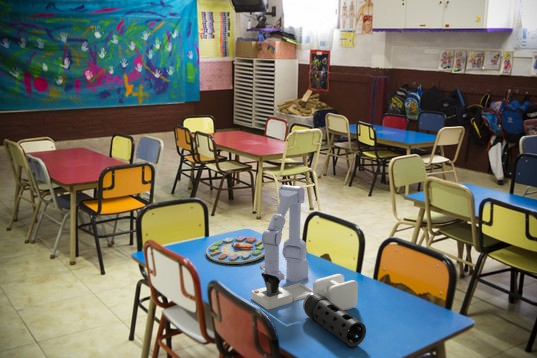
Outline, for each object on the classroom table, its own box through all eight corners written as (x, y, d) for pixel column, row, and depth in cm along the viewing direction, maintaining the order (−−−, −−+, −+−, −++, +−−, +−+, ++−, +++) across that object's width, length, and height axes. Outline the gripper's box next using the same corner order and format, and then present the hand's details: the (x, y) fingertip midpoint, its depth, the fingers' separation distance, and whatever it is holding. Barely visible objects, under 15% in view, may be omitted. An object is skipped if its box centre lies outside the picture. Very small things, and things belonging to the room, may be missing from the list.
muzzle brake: (344, 352, 197) (345, 324, 195) (300, 319, 221) (301, 294, 218) (366, 345, 201) (367, 318, 199) (321, 313, 225) (322, 289, 223)
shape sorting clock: (193, 257, 285) (193, 245, 284) (232, 240, 310) (231, 229, 308) (243, 270, 268) (243, 258, 267) (279, 251, 293) (279, 240, 291)
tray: (299, 286, 250) (299, 282, 250) (316, 295, 241) (316, 291, 241) (278, 292, 244) (278, 288, 244) (294, 302, 235) (294, 298, 235)
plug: (274, 292, 237) (274, 279, 236) (278, 295, 235) (278, 281, 234) (266, 295, 235) (266, 281, 234) (270, 297, 233) (270, 283, 231)
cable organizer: (328, 316, 223) (328, 288, 220) (311, 306, 231) (311, 279, 228) (357, 307, 231) (358, 280, 228) (340, 297, 239) (341, 271, 236)
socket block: (275, 293, 244) (275, 282, 242) (292, 303, 234) (292, 292, 233) (251, 300, 237) (251, 289, 236) (267, 311, 227) (267, 300, 226)
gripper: (253, 256, 235) (253, 287, 238) (273, 267, 223) (273, 299, 226) (267, 252, 239) (267, 283, 242) (288, 263, 227) (288, 295, 230)
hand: (271, 291), depth 234 cm, fingers closed on plug, 3 cm apart
